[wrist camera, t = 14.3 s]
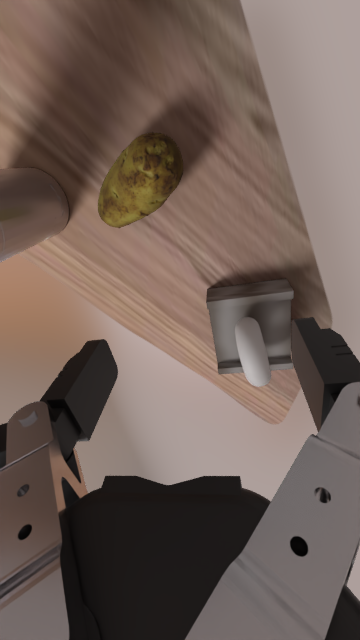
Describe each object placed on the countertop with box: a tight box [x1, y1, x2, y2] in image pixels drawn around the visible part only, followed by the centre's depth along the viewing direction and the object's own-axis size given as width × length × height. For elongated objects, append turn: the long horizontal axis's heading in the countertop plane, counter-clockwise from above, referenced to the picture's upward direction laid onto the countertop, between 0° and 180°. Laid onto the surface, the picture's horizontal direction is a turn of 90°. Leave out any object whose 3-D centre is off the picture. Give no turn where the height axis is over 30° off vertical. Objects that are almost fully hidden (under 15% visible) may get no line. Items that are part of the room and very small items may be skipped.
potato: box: [98, 133, 183, 228], centre depth 33 cm, size 8×13×8 cm, turn 110°
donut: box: [235, 317, 271, 386], centre depth 38 cm, size 10×3×10 cm, turn 21°
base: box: [206, 278, 294, 374], centre depth 43 cm, size 12×14×4 cm
